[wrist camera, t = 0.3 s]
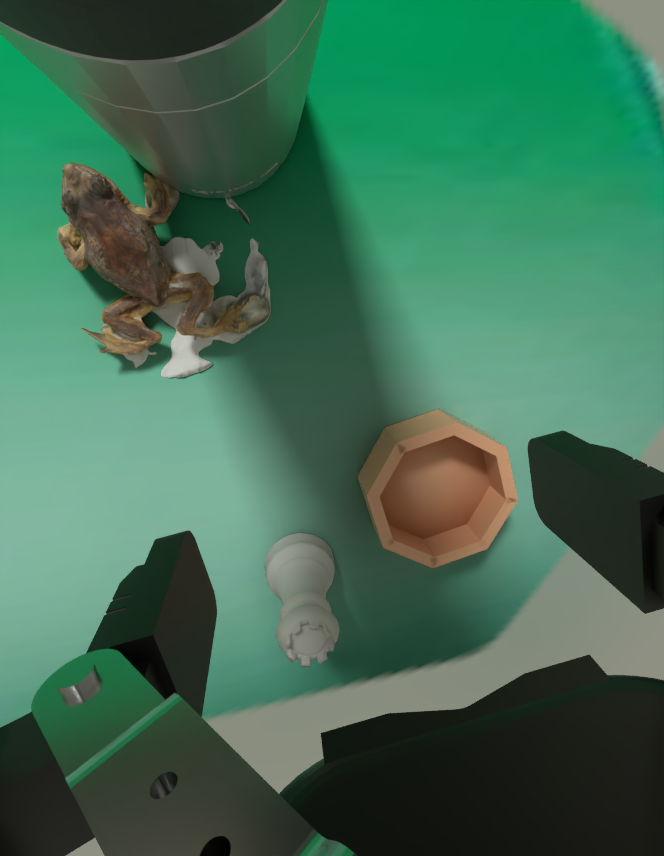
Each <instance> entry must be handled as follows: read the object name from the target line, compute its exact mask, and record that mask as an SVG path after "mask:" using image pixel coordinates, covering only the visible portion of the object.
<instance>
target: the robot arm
mask: <svg viewBox="0 0 664 856" xmlns="http://www.w3.org/2000/svg"><path fill="white" fill-rule="evenodd" d="M327 3H328V0H0V34H1V35H2V36H3V37H4V38H5V39H7V40H8V41H9V42H10V43H11V44H12V45H13V46H14V47H15V48H16V49H17V50H19V51H20V52H21V53H22V54H23V55H24V56H25V57H26V58H27V59H28V60H29V61H31V62H32V63H33V64H34V65H35V66H36V67H37V68H38V69H39V70H40V71H42V72H43V73H44V74H45V75H46V76H47V77H48V78H49V79H50V80H51V81H52V82H53V83H54V84H55V85H57V86H58V87H59V88H60V89H61V90H62V91H63V92H64V93H65V94H66V95H67V96H68V97H69V98H70V99H72V100H73V101H74V102H75V103H76V104H77V105H78V106H79V107H80V108H81V109H82V110H83V111H84V112H85V113H86V114H88V115H89V116H90V117H91V118H92V119H93V120H94V121H95V122H96V123H97V124H98V125H99V126H100V127H101V128H103V129H104V130H105V131H106V132H107V133H108V134H109V135H110V136H111V137H112V138H113V139H114V140H115V141H116V142H118V143H119V144H120V145H121V146H122V147H123V148H124V149H125V150H126V151H127V152H128V153H129V154H130V155H131V156H132V157H133V158H134V159H135V160H137V161H138V162H139V163H140V164H141V165H142V166H143V167H144V168H145V169H146V170H147V171H149V172H150V173H151V174H153V175H154V176H155V177H157V178H158V179H159V180H161V181H162V182H163V183H165V184H167V185H168V186H170V187H172V188H174V189H176V190H178V191H180V192H182V193H185V194H189V195H193V196H197V197H201V198H227V197H232V196H237V195H241V194H243V193H246V192H248V191H250V190H252V189H254V188H257V187H258V186H260V185H261V184H262V183H263V182H265V181H266V180H267V179H269V178H270V177H271V176H272V175H273V174H274V173H275V172H276V171H277V169H278V168H279V167H280V166H281V165H282V163H283V162H284V161H285V159H286V157H287V156H288V154H289V152H290V150H291V148H292V146H293V144H294V142H295V138H296V134H297V131H298V127H299V123H300V119H301V115H302V111H303V108H304V103H305V99H306V95H307V90H308V86H309V82H310V77H311V73H312V68H313V64H314V60H315V55H316V51H317V47H318V42H319V38H320V33H321V29H322V25H323V20H324V16H325V11H326V7H327ZM528 456H529V465H530V473H531V481H532V490H533V498H534V504H535V507H536V510H537V513H538V515H539V517H540V519H541V520H542V522H543V523H544V524H545V525H546V526H547V527H548V528H549V529H550V530H551V531H552V532H553V533H554V534H556V535H557V536H558V537H559V538H560V539H561V540H562V541H564V542H565V543H566V544H567V545H568V546H569V547H570V548H571V549H573V550H574V551H575V552H576V553H577V554H578V555H579V556H580V557H582V558H583V559H584V560H585V561H586V562H587V563H588V564H589V565H591V566H592V567H593V568H594V569H595V570H596V571H597V572H598V573H600V574H601V575H602V576H603V577H604V578H605V579H606V580H608V581H609V582H610V583H611V584H612V585H613V586H615V588H617V589H618V590H619V591H620V592H621V593H622V594H623V595H625V596H626V597H627V598H628V599H629V600H630V601H631V602H632V603H634V604H635V605H636V606H637V607H638V608H639V609H640V610H641V611H642V612H644V613H645V614H646V613H649V612H653V611H656V610H660V609H663V608H664V473H663V472H661V471H659V470H657V469H655V468H653V467H651V466H650V467H647V464H645V463H643V462H641V461H639V460H637V459H635V460H633V458H632V457H630V456H628V455H626V454H624V453H622V452H620V451H618V450H616V449H613V448H608V447H603V446H599V445H594V444H589V443H587V442H585V441H583V440H581V439H579V438H577V437H576V436H574V435H572V434H570V433H568V432H566V431H559V432H555V433H552V434H548V435H544V436H540V437H537V438H533V439H531V440H530V441H529V443H528ZM106 613H107V615H104V617H103V620H102V622H101V624H100V626H99V628H98V630H97V632H96V634H95V636H94V638H93V640H92V642H91V644H90V646H89V648H88V651H87V653H86V654H84V655H81V656H79V657H77V658H75V659H73V660H72V661H70V662H68V663H67V664H65V665H64V666H62V667H61V668H59V669H58V670H57V671H56V672H54V673H53V674H52V675H51V676H50V677H49V678H48V679H47V680H46V681H45V682H44V683H43V684H42V685H41V687H40V688H39V690H38V691H37V692H36V694H35V696H34V698H33V701H32V706H31V710H32V712H30V713H29V714H27V715H25V716H23V717H21V718H19V719H17V720H15V721H13V722H11V723H9V724H7V725H5V726H3V727H1V728H0V856H65V855H67V854H68V853H70V852H72V851H74V850H75V849H77V848H78V847H80V846H82V845H83V844H85V843H87V842H88V841H90V840H92V839H93V838H96V840H97V842H98V844H99V846H100V848H101V850H102V851H103V854H104V856H664V680H659V679H655V678H648V677H639V676H626V675H606V673H605V672H604V671H603V670H602V669H601V668H600V667H599V665H598V664H597V663H596V662H595V661H594V659H593V658H592V657H591V656H590V655H586V656H583V657H580V658H576V659H573V660H570V661H566V662H563V663H559V664H556V665H552V666H549V667H546V668H542V669H539V670H535V671H532V672H529V673H525V674H523V675H522V676H520V677H518V678H516V679H515V680H513V681H511V682H509V683H508V684H506V685H504V686H503V687H501V688H499V689H498V690H496V691H494V692H492V693H491V694H489V695H487V696H486V697H484V698H482V699H480V700H479V701H477V702H475V703H474V704H472V705H470V706H468V707H466V708H463V709H456V710H439V711H424V712H407V713H390V714H385V715H382V716H378V717H375V718H371V719H368V720H365V721H361V722H358V723H354V724H351V725H347V726H345V727H341V728H337V729H334V730H330V731H327V732H323V733H321V739H322V748H323V756H324V759H322V760H320V761H319V762H317V763H315V764H314V765H312V766H311V767H310V768H308V769H307V770H306V771H304V772H303V773H301V774H300V775H299V776H297V777H296V778H295V779H294V780H293V781H292V782H291V783H290V784H289V785H287V786H286V787H285V788H284V789H283V790H282V791H281V792H280V794H278V793H277V792H276V791H275V790H274V789H273V788H272V787H271V786H270V785H269V784H268V783H267V782H266V781H265V780H264V779H263V778H262V777H261V776H260V775H259V774H258V773H257V772H256V771H255V770H254V769H253V768H252V767H251V766H250V765H249V764H248V763H247V762H246V761H245V760H244V759H243V758H242V757H241V756H240V755H239V754H238V753H237V752H236V751H235V750H234V749H233V748H232V747H231V746H230V745H229V744H228V743H227V742H226V741H225V740H224V739H223V738H222V737H221V736H220V735H219V734H218V733H217V732H216V731H215V730H214V729H213V728H212V727H211V726H210V725H209V724H208V723H207V722H206V721H205V720H204V719H203V718H202V711H203V704H204V697H205V691H206V684H207V677H208V671H209V664H210V657H211V651H212V644H213V637H214V631H215V624H216V617H217V606H216V599H215V594H214V590H213V587H212V584H211V582H210V579H209V576H208V573H207V571H206V568H205V565H204V562H203V559H202V557H201V554H200V551H199V548H198V546H197V543H196V540H195V538H194V536H193V534H192V533H191V532H190V531H189V530H188V531H184V532H181V533H177V534H173V535H170V536H166V537H162V538H158V539H156V540H155V541H154V543H153V546H152V548H151V550H150V553H149V555H148V557H147V560H146V562H145V564H144V565H140V566H137V567H135V568H134V569H133V570H132V571H131V572H130V573H129V574H128V575H127V576H126V577H125V578H124V579H123V581H122V582H121V583H120V584H119V586H118V589H117V591H116V593H115V595H114V597H113V601H112V602H111V603H110V605H109V607H108V609H107V611H106Z"/></svg>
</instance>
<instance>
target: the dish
mask: <svg viewBox="0 0 664 856" xmlns="http://www.w3.org/2000/svg"><path fill="white" fill-rule="evenodd" d="M357 477H358V480H359V483H360V486H361V489H362V493H363V496H364V499H365V502H366V505H367V508H368V511H369V514H370V517H371V520H372V523H373V526H374V528H375V530H376V533H377V535H378V537H379V539H380V542H381V544H382V546H383V548H385V549H387V550H390V551H392V552H395V553H397V554H399V555H402V556H404V557H407V558H409V559H411V560H414V561H416V562H419V563H421V564H424V565H426V566H428V567H431V568H435V567H438V566H441V565H444V564H447V563H449V562H452V561H455V560H458V559H461V558H464V557H466V556H469V555H472V554H475V553H478V552H481V551H483V550H486V549H488V547H489V546H490V544H491V543H492V541H493V539H494V538H495V536H496V535H497V533H498V532H499V530H500V528H501V527H502V525H503V524H504V522H505V520H506V519H507V517H508V516H509V514H510V513H511V511H512V509H513V508H514V506H515V505H516V503H517V501H518V498H517V493H516V488H515V484H514V479H513V474H512V470H511V465H510V461H509V456H508V451H507V448H506V447H505V446H504V445H502V444H501V443H499V442H498V441H496V440H495V439H494V438H492V437H491V436H489V435H488V434H486V433H485V432H483V431H481V430H479V429H477V428H475V427H473V426H471V425H469V424H467V423H465V422H463V421H461V420H459V419H457V418H455V417H453V416H451V415H449V414H448V413H446V412H444V411H442V410H440V409H437V410H434V411H431V412H428V413H425V414H422V415H419V416H416V417H414V418H411V419H408V420H405V421H402V422H399V423H396V424H393V425H390V426H387V427H384V429H383V431H382V433H381V434H380V436H379V438H378V440H377V442H376V443H375V445H374V447H373V449H372V451H371V453H370V454H369V456H368V458H367V460H366V462H365V463H364V465H363V467H362V469H361V471H360V472H359V474H358V476H357Z"/></svg>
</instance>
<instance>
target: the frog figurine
mask: <svg viewBox="0 0 664 856" xmlns="http://www.w3.org/2000/svg"><path fill="white" fill-rule="evenodd" d="M62 171H63V179H62V201H61V203H60V204H61V206H62V209H63V211H64V212H65V213H66V214H67V217H68V219H69V221H70V223H68V224H67V225H65V226H61V227H59V229H58V232H57V237H58V241H59V243H60V245H61V247H62V248H63V249H64V254H65V256H66V257H67V259H68V260H69V262H70V263H71V264H72V265H73V267H74V268H75V269H76V270H80V271H83V270H85V269H86V268H87V267H88V265H89V264H90V265H91V266H92V267H93V269H94V270H95V271H96V272H98V274H99V275H100V276H101V277H102V278H103V279H104V280H106V281H108V282H110V283H112V284H114V285H115V286H116V287H118V288H120V289H121V290H122V291H124V292H126V293H127V294H126V295H125V296H123V297H122V298H120V299H119V300H117V301H116V302H114V303H112V304H111V305H109V306H108V307H107V308H105V309H104V310H103V312H102V316H103V318H102V320H103V322H104V323H105V324H104V325H103V327H102V328H101V333H95V332H90V331H88V330H86V329H84V328H81V329H82V330H83V331H85V332H86V333H88V334H89V335H90V336H92V337H94V338H95V339H97V340H98V341H100V342H101V343H103V344H104V345H105V346H106V348H105V349H101V350H100V352H101V353H105V352H110V353H114V354H123V355H124V356H125V357H126V358H127V359H128V360H130V361H133V363H134V365H135V368H137V367H138V366H140V365H141V364H143V363H144V362H145V360H146V359H147V357H148V355H155V354H156V352H149V351H148V348H149V347H150V346H151V345H154V344H156V343H158V342H160V341H161V340H162V335H161V334H160V333H159V332H156V331H153V330H151V329H149V328H148V327H147V326H146V325H145V324H144V323H143V321H142V317H144V316H146V315H147V313H149V312H154V313H155V314H157V315H158V316H159V317H160V318H162V319H163V320H164V321H165V322H166V323H168V324H169V325H170V326H172V327H173V328H175V329H176V334H175V336H174V338H173V340H172V342H171V350H172V358H171V360H170V361H169V362H168V363H167V365H166V366H165V367H164V368H163V370H162V372H161V376H163V377H165V378H171V377H177V378H178V377H188V376H189V375H191V374H195V373H198V372H201V371H204V370H205V369H207V368H209V367H210V366H211V365H213V364H212V363H211V362H209V361H206V360H204V359H202V358H200V357H199V351H200V350H202V349H203V348H205V347H207V346H210V345H211V344H212V341H213V340H222V341H224V342H228V343H231V344H233V343H234V344H235V343H237V342H239V340H241V339H243V338H244V337H245V335H248V334H250V333H251V332H252V331H253V330H255V329H257V328H258V327H260V326H261V325H263V324H264V323H265V322H266V321H267V320H268V318H269V316H270V313H271V305H270V288H269V285H268V267H267V259H265V258H264V257H263V255H262V254H260V253H259V252H258V246H259V243H258V242H257V241H255V240H254V239H253V238H251V240H250V247H251V252H250V255H249V257H248V259H247V262H246V266H245V280H246V283H247V286H246V288H245V290H244V291H243V292H242V293H241V294H240V295H239V296H238V297H237V298H236V297H234V296H231V295H229V296H222V297H220V298H218V299H217V300H215V301H213V298H214V287H213V286H214V285H215V284H217V283H218V281H219V279H220V275H219V271H218V268H217V265H216V260H217V259H218V258H219V257H220V254H219V253H221V252H222V251H223V245H222V243H221V242H219V244H218V243H216V242H213V241H211V244H210V245H208V244H207V245H206V246H205V247H204V248H203V249H200V248H199V247H198V246H197V245H196V243H195V242H194V241H193V240H192V239H191V238H182V237H175V238H173V239H171V240H170V241H169V242H168V243H167V244H166V245H165V246H160V243H159V239H158V237H157V235H156V231H155V230H154V227H156V226H157V225H159V224H163V223H165V222H166V221H167V218H168V216H170V214H171V212H172V211H173V210H174V208H175V207H176V205H177V203H178V201H179V192H178V190H176V189H174V188H172V187H170V186H168V185H167V184H165V183H163V182H162V181H161V180H159V179H158V178H157V177H155V176H153V175H150V174H148V173H146V172H145V173H144V174H143V175H144V181H145V182H144V184H143V186H144V187H145V189H146V193H145V208H142V207H140V206H135V205H133V204H131V203H130V201H129V200H128V199H127V198H126V197H125V196H124V195H123V194H122V192H121V191H120V190H119V189H118V187H117V186H116V185H115V184H114V182H113V181H111V180H110V179H109V178H107V177H106V176H104V175H103V174H101V173H99V172H98V171H96V170H95V169H92V168H90V167H88V166H85V165H81V164H76V163H68V164H66V165H65V166H64V167H63V169H62ZM225 199H226V201H227V205H228V206H229V207H231V208H233V209H234V208H236V210H237V211H238V212H239V213H240V215H242V217H243V219H244V220H245V221H246V223H248V224H249V225H250V222H249V219H248V216H247V215H246V213H245V212H244V211H243V210H242V209H241V208H240V207H239V206H238V205H237V203H236V202H235V201H234V200H233V199H232V198H230V197H227V198H225ZM212 244H213V245H214V250H212Z"/></svg>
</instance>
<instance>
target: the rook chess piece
mask: <svg viewBox="0 0 664 856" xmlns="http://www.w3.org/2000/svg"><path fill="white" fill-rule="evenodd" d="M265 571H266V578H267V581H268V585H269V587H270V589H271V590H272V591H273V592H274V594H275V595H276V596H277V597H278V598H280V599H281V601H282V603H283V606H282V608H281V612H280V620H281V622H280V623H279V625H278V628H277V634H276V637H277V641H278V644H279V647H280V648H281V649H282V650H283V651H284V652H285V653H286V656H287V657H288V659H289V660H290V661H291V662H292V663H293V662H294V661H295V660H296V658H297V659H299V660H300V665H301V666H303V667H310V660H313V659H317V660H318V662H319V664H321V663H323V662H324V661H326V660H327V659H328V657H327V652H328V651H332V652H333V650H334V646H335V643H336V642H337V640H338V636H339V631H340V629H339V625H338V621H337V619H336V618H335V617H334V615H333V614H332V611H331V607H330V604H329V602H328V601H327V600H326V592H327V591H328V589H329V587H330V586H331V585H332V582H333V577H334V572H335V566H334V558H333V553H332V550H331V548H330V547H329V546H328V545H327V544H326V542H325V541H324V540H322V539H320V538H318V537H317V536H315V535H313V534H305V533H296V534H292V535H288V536H285V537H283V538H282V539H280V540H279V541H277V542H276V543H275V544H273V546H272V547H271V549H270V550H269V552H268V553H267V555H266V561H265Z"/></svg>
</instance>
